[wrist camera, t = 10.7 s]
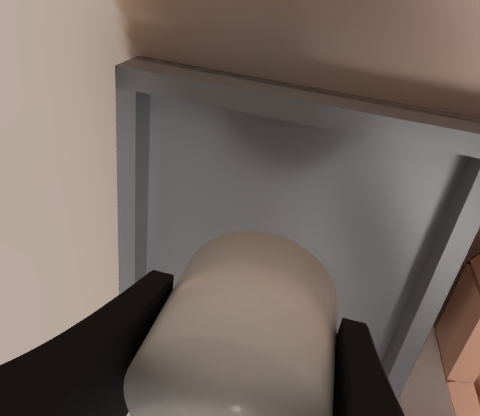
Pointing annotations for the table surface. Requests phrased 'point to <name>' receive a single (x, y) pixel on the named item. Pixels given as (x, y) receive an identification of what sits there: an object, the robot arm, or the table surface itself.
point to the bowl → (462, 341)
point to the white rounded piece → (241, 335)
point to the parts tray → (300, 188)
